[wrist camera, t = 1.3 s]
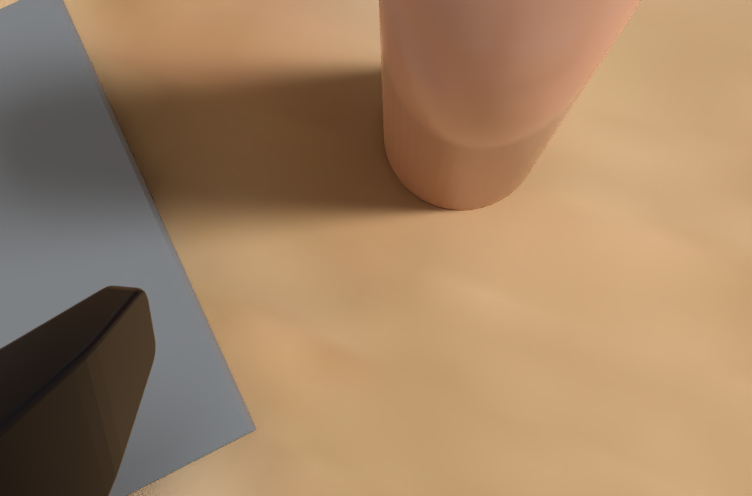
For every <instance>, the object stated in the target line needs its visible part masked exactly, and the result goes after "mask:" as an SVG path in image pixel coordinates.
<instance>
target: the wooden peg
mask: <svg viewBox="0 0 752 496" xmlns="http://www.w3.org/2000/svg"><path fill="white" fill-rule="evenodd" d="M640 1H641V0H379V14H380V43H381V71H382V100H383V128H384V146H385V151H386V155H387V158H388V161H389V164H390V166H391V168H392V170H393V172H394V173H395V175H396V176H397V178H398V179H399V180H400V182H401V183H402V184H403V185H404V186H405V187H406V188H407V189H408V190H409V191H410V192H412V193H413V194H414V195H416V196H417V197H419V198H420V199H422V200H424V201H426V202H428V203H430V204H432V205H435V206H438V207H441V208H446V209H451V210H472V209H478V208H483V207H486V206H489V205H492V204H494V203H496V202H498V201H500V200H502V199H503V198H505V197H506V196H508V195H510V194H511V193H512V192H513V191H514V190H515V189H516V188H517V187H518V186H519V185H520V184H521V183H522V182H523V181H524V179H525V178H526V176H527V175H528V173H529V172H530V170H531V168H532V167H533V165H534V164H535V162H536V161H537V159H538V158H539V156H540V155H541V153H542V152H543V150H544V149H545V147H546V145H547V144H548V142H549V141H550V139H551V138H552V136H553V135H554V133H555V132H556V130H557V129H558V127H559V126H560V124H561V123H562V121H563V119H564V118H565V116H566V115H567V113H568V112H569V110H570V109H571V107H572V106H573V104H574V103H575V101H576V100H577V98H578V96H579V95H580V93H581V92H582V90H583V89H584V87H585V86H586V84H587V83H588V81H589V80H590V78H591V77H592V75H593V73H594V72H595V70H596V69H597V67H598V66H599V64H600V63H601V61H602V60H603V58H604V57H605V55H606V54H607V52H608V50H609V49H610V47H611V46H612V44H613V43H614V41H615V40H616V38H617V37H618V35H619V34H620V32H621V31H622V29H623V27H624V26H625V24H626V23H627V21H628V20H629V18H630V17H631V15H632V14H633V12H634V11H635V9H636V8H637V6H638V5H639V3H640Z"/></svg>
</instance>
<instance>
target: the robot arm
mask: <svg viewBox="0 0 752 496" xmlns="http://www.w3.org/2000/svg"><path fill="white" fill-rule="evenodd" d="M155 350H156V342H155V336H154V330H153V324H152V318H151V312H150V307H149V301H148V297H147V295H146V293H145V291H143V290H142V289H140V288H135V287H125V286H107V287H105V288H103V289H101V290H99V291H97V292H96V293H94V294H92V295H91V296H89V297H87V298H85V299H84V300H82V301H80V302H79V303H77V304H75V305H74V306H72V307H70V308H68V309H67V310H65V311H63V312H62V313H60V314H58V315H57V316H55V317H53V318H51V319H50V320H48V321H46V322H45V323H43V324H41V325H39V326H38V327H36V328H34V329H33V330H31V331H29V332H28V333H26V334H24V335H22V336H21V337H19V338H17V339H16V340H14V341H12V342H11V343H9V344H7V345H5V346H4V347H2V348H0V496H109V494H110V491H111V489H112V487H113V484H114V482H115V479H116V477H117V474H118V471H119V468H120V465H121V463H122V460H123V457H124V453H125V450H126V447H127V444H128V441H129V438H130V435H131V431H132V428H133V425H134V422H135V419H136V416H137V412H138V409H139V406H140V403H141V400H142V397H143V394H144V390H145V387H146V384H147V381H148V378H149V375H150V372H151V368H152V365H153V362H154V357H155Z"/></svg>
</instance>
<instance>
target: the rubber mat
mask: <svg viewBox="0 0 752 496" xmlns="http://www.w3.org/2000/svg"><path fill="white" fill-rule="evenodd" d="M107 286H125V287H135V288H140V289H142V290H143V291H145V293H146V295H147V297H148V301H149V307H150V312H151V318H152V324H153V330H154V336H155V342H156V350H155V357H154V362H153V365H152V368H151V372H150V375H149V378H148V381H147V384H146V387H145V390H144V394H143V397H142V400H141V403H140V406H139V409H138V412H137V416H136V419H135V422H134V425H133V428H132V431H131V435H130V438H129V441H128V444H127V447H126V450H125V453H124V457H123V460H122V463H121V465H120V468H119V471H118V474H117V477H116V479H115V482H114V484H113V487H112V489H111V491H110V494H109V496H127V495H129V494H131V493H133V492H135V491H137V490H139V489H141V488H142V487H144V486H146V485H148V484H150V483H152V482H154V481H156V480H158V479H160V478H162V477H164V476H166V475H168V474H170V473H172V472H174V471H176V470H178V469H180V468H182V467H184V466H186V465H188V464H190V463H192V462H194V461H196V460H198V459H199V458H201V457H203V456H205V455H207V454H209V453H211V452H213V451H215V450H217V449H219V448H221V447H223V446H225V445H227V444H229V443H231V442H233V441H235V440H237V439H239V438H241V437H243V436H245V435H247V434H249V433H251V432H253V431H254V430H256V428H255V425H254V423H253V421H252V419H251V417H250V414H249V412H248V410H247V408H246V405H245V403H244V401H243V399H242V397H241V394H240V392H239V390H238V388H237V386H236V383H235V381H234V379H233V377H232V374H231V372H230V370H229V368H228V366H227V363H226V361H225V359H224V357H223V354H222V352H221V350H220V348H219V346H218V343H217V341H216V339H215V337H214V334H213V332H212V330H211V328H210V326H209V323H208V321H207V319H206V317H205V315H204V312H203V310H202V308H201V306H200V303H199V301H198V299H197V297H196V295H195V292H194V290H193V288H192V286H191V283H190V281H189V279H188V277H187V275H186V272H185V270H184V268H183V266H182V263H181V261H180V259H179V257H178V255H177V252H176V250H175V248H174V246H173V243H172V241H171V239H170V237H169V235H168V232H167V230H166V228H165V226H164V224H163V221H162V219H161V217H160V215H159V212H158V210H157V208H156V206H155V204H154V201H153V199H152V197H151V195H150V192H149V190H148V188H147V186H146V184H145V181H144V179H143V177H142V175H141V172H140V170H139V168H138V166H137V164H136V161H135V159H134V157H133V155H132V152H131V150H130V148H129V146H128V144H127V141H126V139H125V137H124V135H123V133H122V130H121V128H120V126H119V124H118V121H117V119H116V117H115V115H114V113H113V110H112V108H111V106H110V104H109V101H108V99H107V97H106V95H105V93H104V90H103V88H102V86H101V84H100V81H99V79H98V77H97V75H96V73H95V70H94V68H93V66H92V64H91V61H90V59H89V57H88V55H87V53H86V50H85V48H84V46H83V44H82V42H81V39H80V37H79V35H78V33H77V30H76V28H75V26H74V24H73V22H72V19H71V17H70V15H69V13H68V10H67V8H66V6H65V4H64V2H63V0H19V1H17V2H15V3H13V4H11V5H8V6H6V7H4V8H2V9H0V348H2V347H4V346H5V345H7V344H9V343H11V342H12V341H14V340H16V339H17V338H19V337H21V336H22V335H24V334H26V333H28V332H29V331H31V330H33V329H34V328H36V327H38V326H39V325H41V324H43V323H45V322H46V321H48V320H50V319H51V318H53V317H55V316H57V315H58V314H60V313H62V312H63V311H65V310H67V309H68V308H70V307H72V306H74V305H75V304H77V303H79V302H80V301H82V300H84V299H85V298H87V297H89V296H91V295H92V294H94V293H96V292H97V291H99V290H101V289H103V288H105V287H107Z"/></svg>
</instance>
